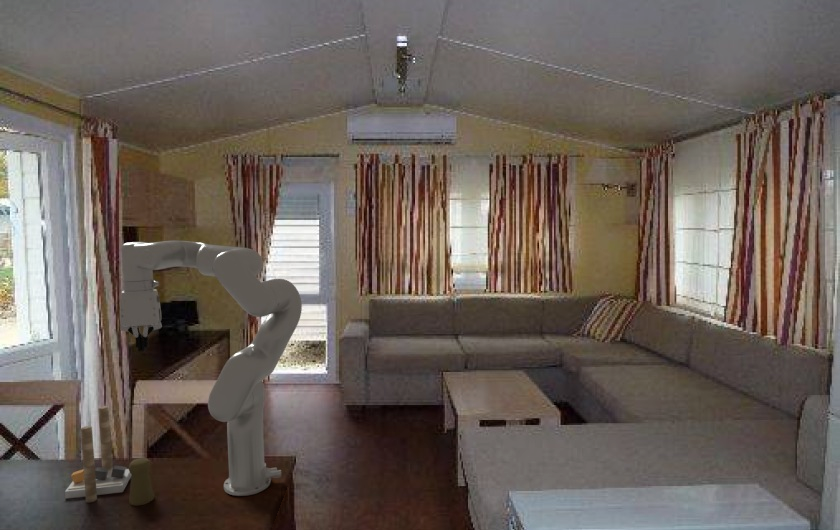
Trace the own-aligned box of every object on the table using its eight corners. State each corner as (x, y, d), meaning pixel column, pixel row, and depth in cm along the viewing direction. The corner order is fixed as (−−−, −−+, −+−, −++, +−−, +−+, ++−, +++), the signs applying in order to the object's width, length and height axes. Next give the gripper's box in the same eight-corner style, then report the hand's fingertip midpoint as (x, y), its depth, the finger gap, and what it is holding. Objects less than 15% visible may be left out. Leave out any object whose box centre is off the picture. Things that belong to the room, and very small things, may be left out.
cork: (144, 506, 148) (141, 466, 147) (123, 504, 149) (121, 464, 148) (159, 494, 154) (156, 456, 153) (139, 492, 155) (137, 454, 154)
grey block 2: (124, 475, 161) (126, 466, 161) (122, 478, 159) (124, 470, 159) (112, 473, 160) (114, 465, 160) (110, 476, 158) (112, 468, 158)
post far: (114, 471, 167) (109, 405, 165) (111, 475, 165) (106, 408, 163) (104, 472, 167) (99, 406, 165) (101, 476, 164) (96, 409, 162)
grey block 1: (106, 476, 160) (108, 468, 160) (104, 480, 158) (106, 472, 158) (95, 475, 159) (97, 467, 159) (93, 478, 157) (94, 470, 157)
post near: (98, 496, 153) (93, 425, 151) (95, 501, 150) (90, 429, 148) (87, 498, 152) (82, 426, 150) (84, 503, 150) (78, 430, 148)
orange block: (87, 476, 159) (84, 468, 158) (85, 479, 157) (82, 471, 156) (76, 480, 158) (73, 472, 158) (74, 483, 156) (70, 475, 156)
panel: (131, 475, 165) (131, 467, 165) (122, 492, 155) (122, 484, 155) (78, 480, 162) (77, 473, 162) (65, 498, 152) (64, 490, 152)
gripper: (169, 283, 165) (173, 345, 167) (113, 285, 161) (117, 348, 163) (164, 287, 158) (168, 351, 160) (105, 289, 154) (109, 355, 156)
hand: (142, 349), depth 162 cm, fingers closed
